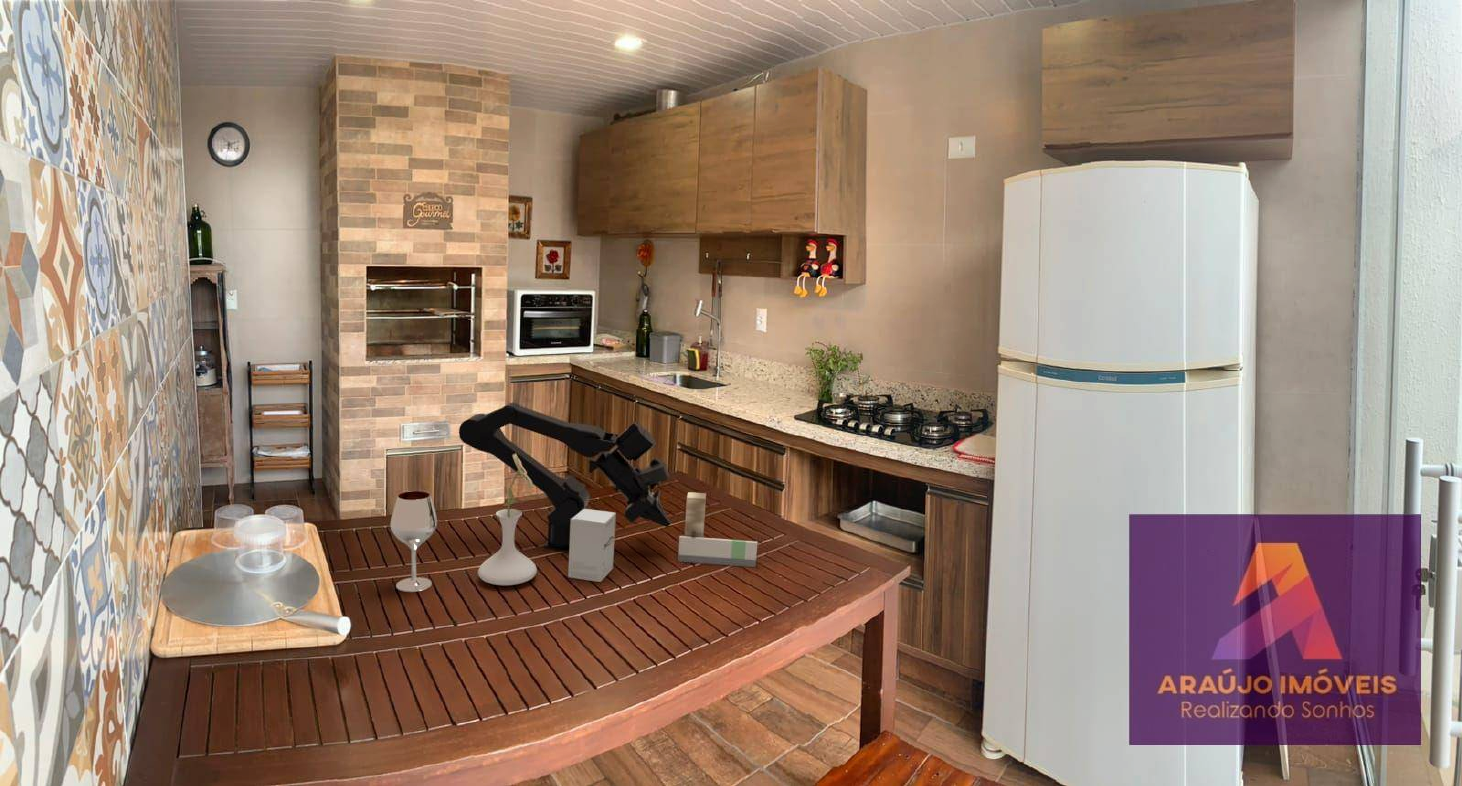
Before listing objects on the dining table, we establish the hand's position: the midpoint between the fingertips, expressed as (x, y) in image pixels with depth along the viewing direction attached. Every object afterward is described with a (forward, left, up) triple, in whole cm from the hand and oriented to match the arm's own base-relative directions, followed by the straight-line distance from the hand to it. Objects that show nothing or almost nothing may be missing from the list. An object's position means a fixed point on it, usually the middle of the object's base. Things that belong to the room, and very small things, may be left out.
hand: (668, 525), depth 179 cm
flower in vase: (-22, -28, -7) cm, 36 cm away
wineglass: (-35, -40, -7) cm, 54 cm away
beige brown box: (+6, +1, -5) cm, 8 cm away
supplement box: (-9, -18, -7) cm, 21 cm away
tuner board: (+11, +4, -7) cm, 13 cm away
